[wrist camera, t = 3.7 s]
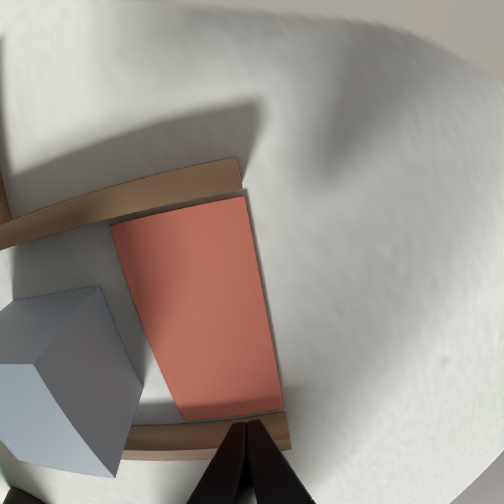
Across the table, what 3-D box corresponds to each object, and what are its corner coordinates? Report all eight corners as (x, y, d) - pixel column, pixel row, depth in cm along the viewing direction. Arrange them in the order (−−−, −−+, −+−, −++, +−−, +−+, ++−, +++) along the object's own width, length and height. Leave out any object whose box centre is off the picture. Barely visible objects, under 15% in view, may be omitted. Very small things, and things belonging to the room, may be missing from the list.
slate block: (143, 386, 15) (115, 478, 9) (58, 388, 15) (17, 459, 9) (100, 284, 13) (33, 364, 7) (13, 300, 13) (-54, 361, 7)
